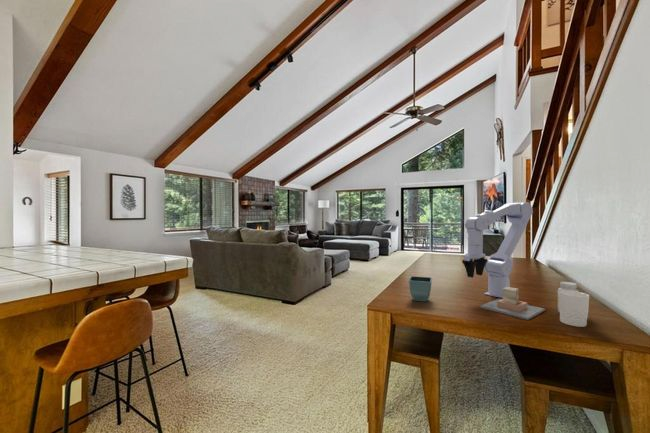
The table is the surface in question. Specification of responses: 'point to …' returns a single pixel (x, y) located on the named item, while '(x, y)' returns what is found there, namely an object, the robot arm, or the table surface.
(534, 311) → the holder
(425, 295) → the flower pot
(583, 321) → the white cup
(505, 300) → the peg
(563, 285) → the pill bottle
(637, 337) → the table surface
